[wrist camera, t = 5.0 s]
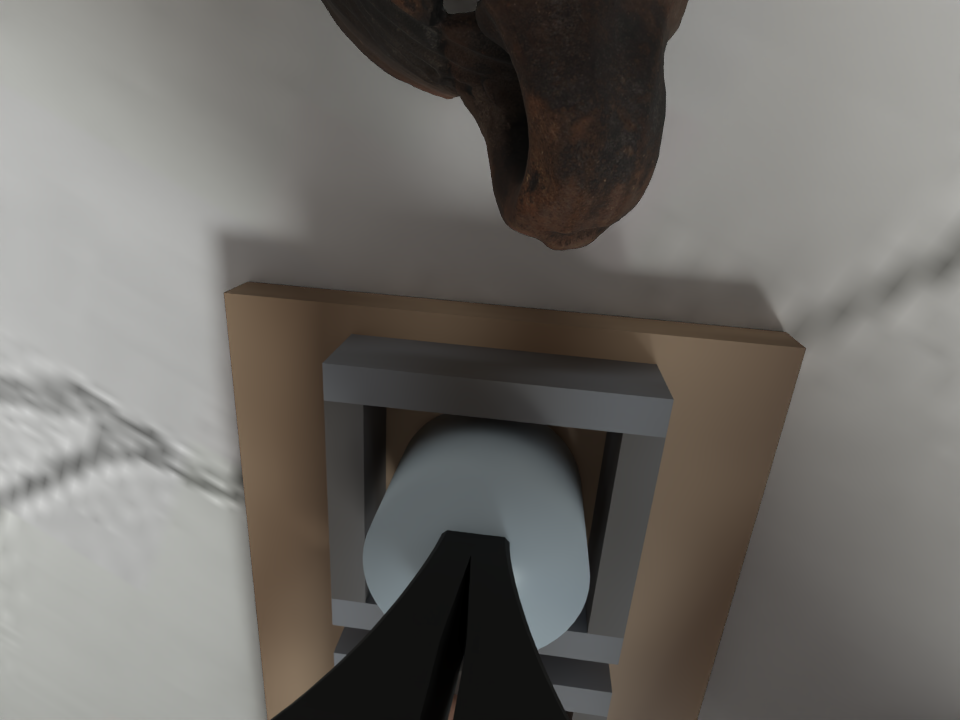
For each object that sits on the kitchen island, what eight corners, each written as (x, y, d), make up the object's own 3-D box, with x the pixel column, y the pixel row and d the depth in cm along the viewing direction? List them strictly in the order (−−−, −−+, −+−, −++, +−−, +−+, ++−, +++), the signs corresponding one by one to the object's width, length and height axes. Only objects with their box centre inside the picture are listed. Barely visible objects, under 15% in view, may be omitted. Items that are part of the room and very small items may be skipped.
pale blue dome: (593, 416, 14) (605, 491, 11) (569, 572, 16) (574, 673, 13) (399, 395, 14) (361, 463, 11) (397, 550, 16) (363, 643, 13)
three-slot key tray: (785, 331, 14) (848, 382, 11) (622, 922, 24) (633, 1034, 21) (247, 281, 15) (175, 316, 12) (297, 865, 25) (263, 963, 22)
